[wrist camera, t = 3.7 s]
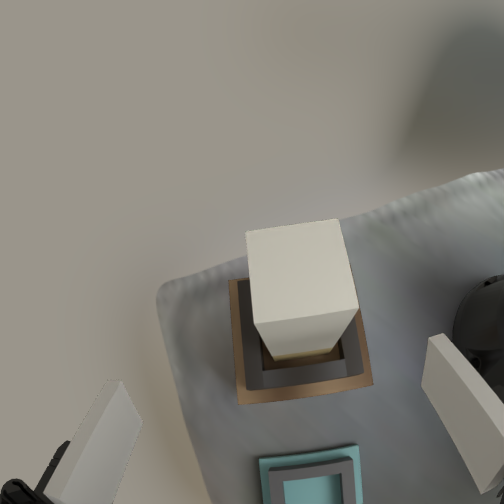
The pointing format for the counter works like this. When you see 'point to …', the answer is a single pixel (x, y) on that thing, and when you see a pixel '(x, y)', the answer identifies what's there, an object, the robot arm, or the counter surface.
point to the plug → (300, 287)
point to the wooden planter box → (296, 370)
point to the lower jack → (313, 477)
